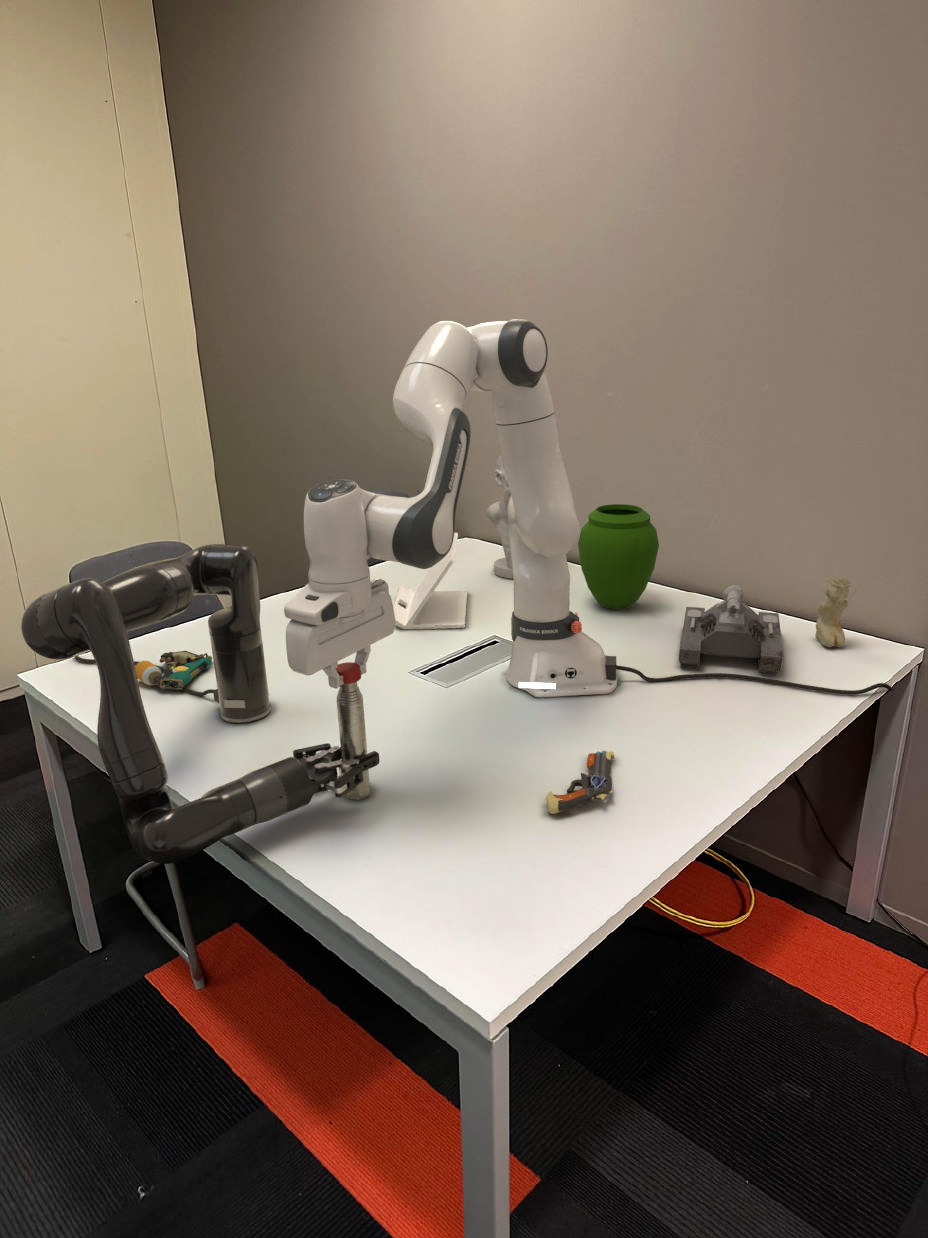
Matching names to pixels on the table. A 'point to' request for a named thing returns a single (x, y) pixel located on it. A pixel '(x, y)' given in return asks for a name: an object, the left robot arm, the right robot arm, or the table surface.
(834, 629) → the sculpture
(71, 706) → the table surface
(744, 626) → the toy
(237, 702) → the left robot arm
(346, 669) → the cap
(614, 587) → the vase
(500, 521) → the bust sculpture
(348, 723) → the bottle
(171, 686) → the spray gun
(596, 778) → the toy gun
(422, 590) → the tablet stand
